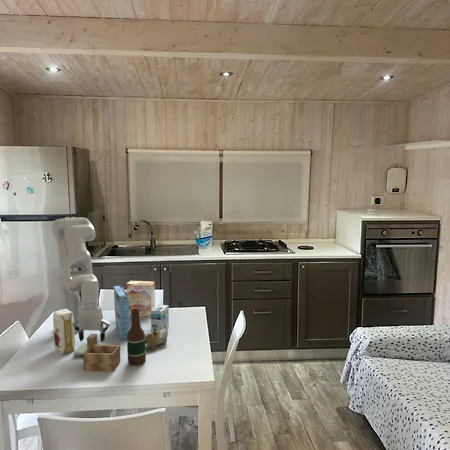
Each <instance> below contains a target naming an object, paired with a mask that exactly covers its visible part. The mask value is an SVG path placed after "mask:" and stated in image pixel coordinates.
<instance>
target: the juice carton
mask: <svg viewBox="0 0 450 450" xmlns="http://www.w3.org/2000/svg"><path fill="white" fill-rule="evenodd" d="M52 317H53V318H52V321H53V322H52V325H53V338H54V347H55V350H56V352H58V353H59V354H61V355H65V354H68V353H71V352H75V351H76V341H75V339H76V337H75V334H74V326H73V323H74V317H73V312H71V311H69V310H68V309H63V310H62V309H59V310H55V311H53V316H52Z"/></svg>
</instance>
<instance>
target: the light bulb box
mask: <svg viewBox="0 0 450 450" xmlns="http://www.w3.org/2000/svg"><path fill="white" fill-rule="evenodd" d="M169 310H170V308H169V305H168V304H166V305H165V304H155V307H154V308H153V309H152V310H151V317H150V328H151V329H150V331H153V329H158V330H159V331H160V330H162V329H165V328H167V327H168V326H169V324H170V316H169V315H170V313H169Z"/></svg>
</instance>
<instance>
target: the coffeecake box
mask: <svg viewBox="0 0 450 450" xmlns="http://www.w3.org/2000/svg"><path fill="white" fill-rule="evenodd" d="M125 285H126V292H127V294H128V295H129V314H130V315H131V310H132V309H138V310H139V311H140V312H139V317H143V316H151V310H152V309H153V308H154V307H155V306H156V298H155V297H156V295H155V294H156V293H155V290H156V288H155V281H145V280H130V281H128V282H126V283H125Z"/></svg>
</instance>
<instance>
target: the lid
mask: <svg viewBox="0 0 450 450" xmlns="http://www.w3.org/2000/svg"><path fill="white" fill-rule="evenodd" d="M90 345H111V343H98V334H97V333H90V334H89V335H88V336H87V337H86V343H80V345H79V346H78V347H77V348H75V350H74V351H73V353H72V354H73V355H74V356H83V353H84V352H85V351H86V350H87V349H88V348H89V347H90Z"/></svg>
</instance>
